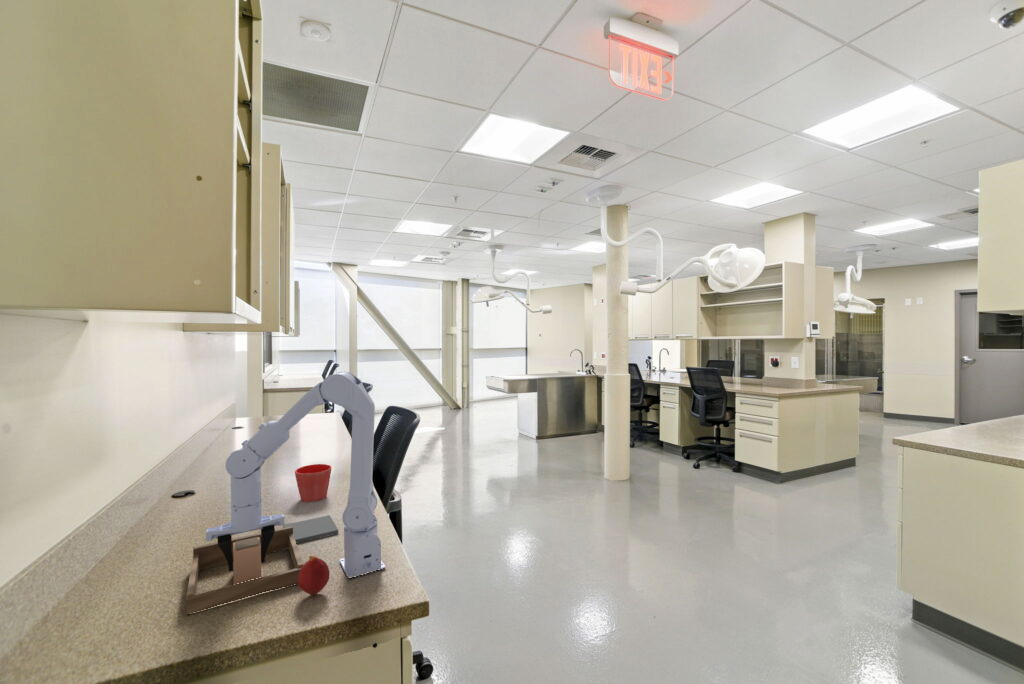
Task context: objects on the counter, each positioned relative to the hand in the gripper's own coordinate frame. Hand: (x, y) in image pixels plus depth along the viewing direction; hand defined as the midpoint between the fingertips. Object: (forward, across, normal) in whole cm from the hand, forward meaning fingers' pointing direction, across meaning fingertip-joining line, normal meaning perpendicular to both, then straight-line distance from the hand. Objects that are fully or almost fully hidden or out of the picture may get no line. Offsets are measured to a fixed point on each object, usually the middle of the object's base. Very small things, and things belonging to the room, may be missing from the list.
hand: (247, 564), depth 95 cm
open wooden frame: (+2, 0, 0) cm, 2 cm away
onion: (+3, -11, +16) cm, 20 cm away
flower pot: (+3, -20, -44) cm, 48 cm away
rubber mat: (+2, -15, -17) cm, 23 cm away
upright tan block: (+2, 0, 0) cm, 2 cm away
